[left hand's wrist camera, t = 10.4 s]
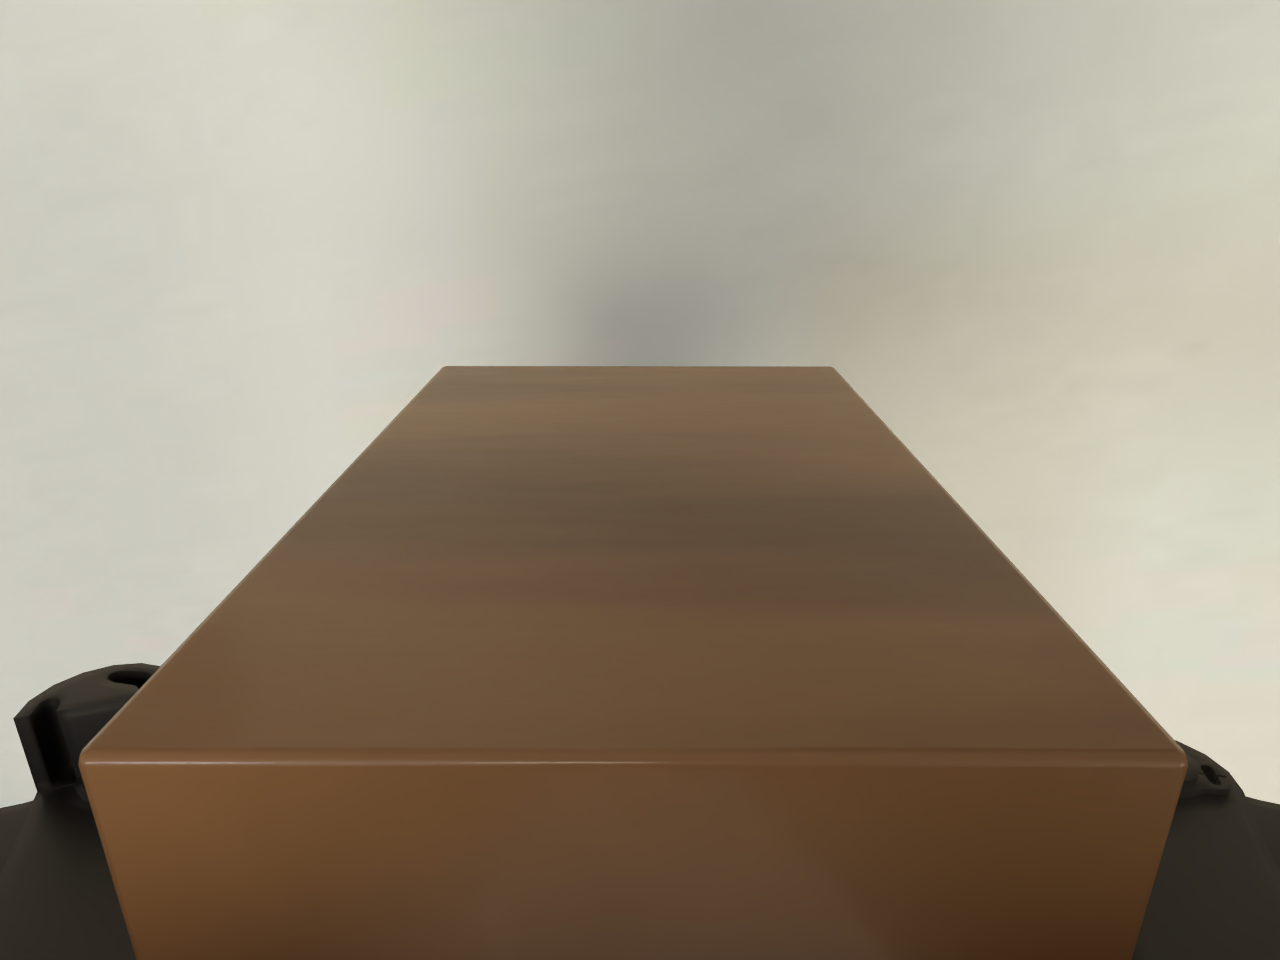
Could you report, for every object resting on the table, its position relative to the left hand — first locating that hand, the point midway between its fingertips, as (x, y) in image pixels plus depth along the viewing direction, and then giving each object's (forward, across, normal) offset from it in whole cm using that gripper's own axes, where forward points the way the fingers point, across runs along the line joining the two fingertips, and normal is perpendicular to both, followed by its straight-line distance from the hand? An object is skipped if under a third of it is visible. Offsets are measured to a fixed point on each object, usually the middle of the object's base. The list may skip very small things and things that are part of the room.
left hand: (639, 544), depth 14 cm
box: (+1, 0, -12) cm, 12 cm away
